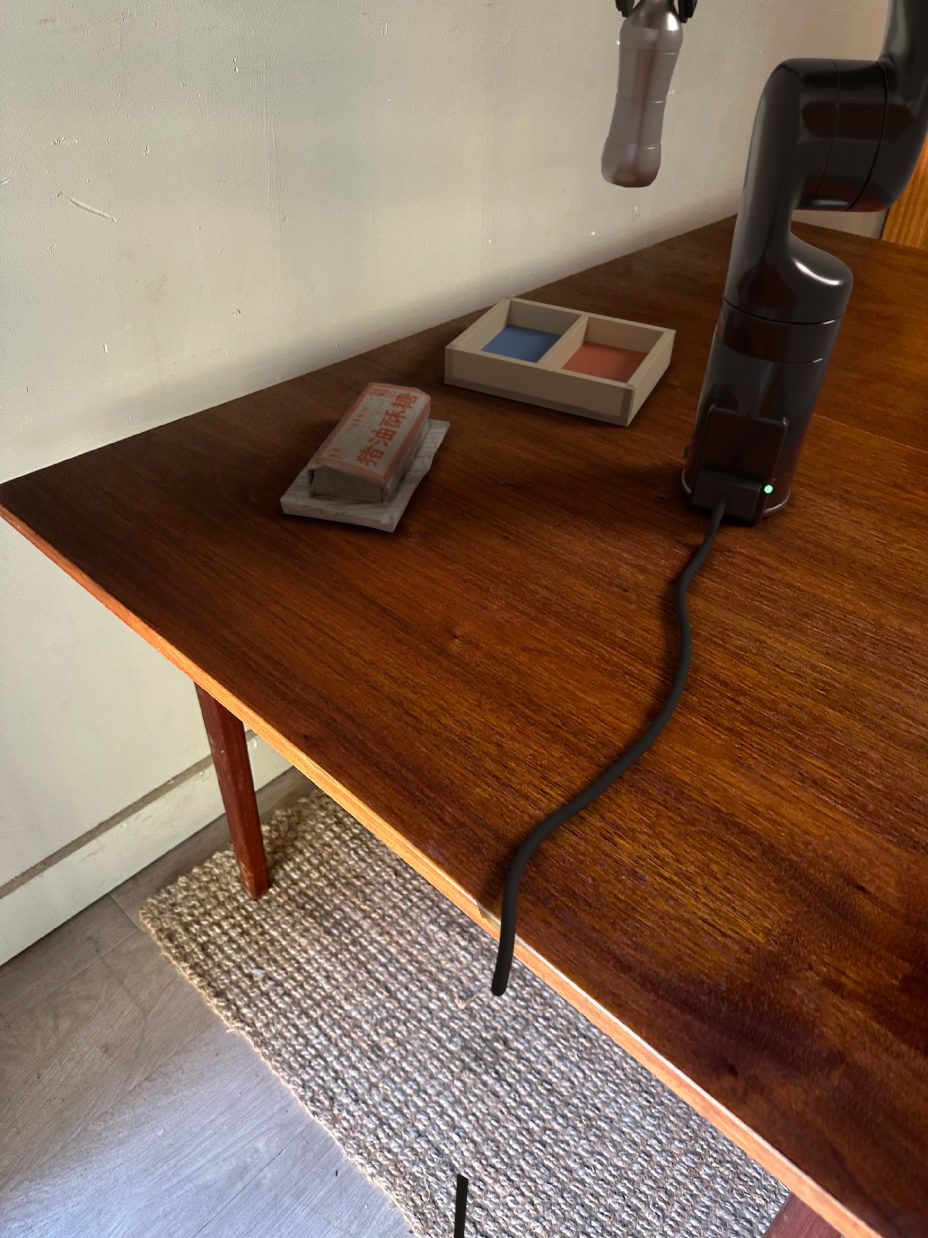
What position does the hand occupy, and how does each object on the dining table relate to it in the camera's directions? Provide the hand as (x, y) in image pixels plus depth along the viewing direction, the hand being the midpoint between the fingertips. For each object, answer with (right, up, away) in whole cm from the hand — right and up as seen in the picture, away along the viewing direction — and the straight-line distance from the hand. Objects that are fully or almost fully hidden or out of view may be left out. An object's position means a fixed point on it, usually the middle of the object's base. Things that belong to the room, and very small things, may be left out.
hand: (657, 12), depth 94 cm
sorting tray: (-10, -36, +4) cm, 38 cm away
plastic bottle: (-2, -14, +10) cm, 17 cm away
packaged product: (-28, -50, -12) cm, 59 cm away
